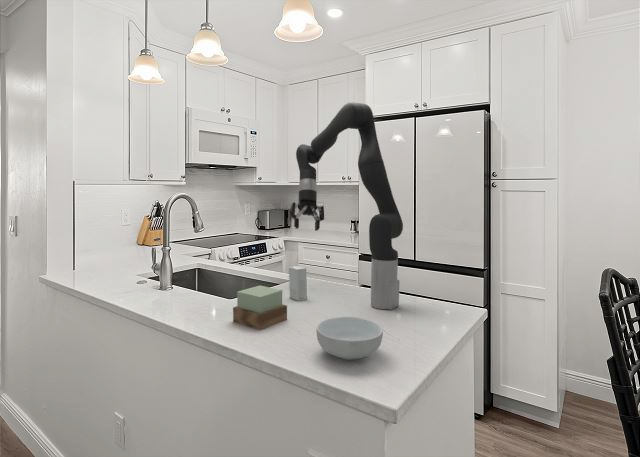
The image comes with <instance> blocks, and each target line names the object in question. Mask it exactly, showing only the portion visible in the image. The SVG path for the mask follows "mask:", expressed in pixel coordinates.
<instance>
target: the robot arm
mask: <svg viewBox="0 0 640 457" xmlns="http://www.w3.org/2000/svg"><path fill="white" fill-rule="evenodd" d="M348 129H351V130H357V131H358V134H359V136H360V137H359V138H360V141H361V147H360V151H359V155H358V161H357V167H358V171H359V175H360V180H361V182H362V184H363V186H364V187H365V189H366V190H367V192H368V194H369V195H370V196H371V197H372V199H373V200H374V201H375V204H376V206H377V210H378V214H375V215H373V216H372V218H371V219H370V222H369V227H368V238H369V239H368V240H369V243H368V244H369V251H370V253H371V267H370V268H371V269H370V270H371V272H370V273H371V274H370V306H371V307H373V308H375V309H380V310H390V311H391V310H393V309H395V308H397V307H398V306H400V280H399V279H398V267H399V266H398V265H399V252H398V250H396V249H394V248H393V242H392V240H393V239H396V238H399V237H400V236H401V235H402V233H403V229H404V224H403V219H402V216H401V214H400V211H399V208H398V206H397V204H396V202H395V199H394V195H393V192H392V188H391V185H390V181H389V179H388V174H387V170H386V166H385V162H384V159H383V156H382V152H381V148H380V144H379V140H378V136H377V130H376V129H377V128H376V124H375V117H374V114H373V110H372V108H371V106H369V105H368V104H366V103H362V102H361V103H360V102H353V101H352V102H347V103H345V104H344V105H342V107H340V109H339V111H338V112H337V113H336V115H335V116H334V117H333V118H332V120H330V123H328V125H327V126H326V127H325V129H323V130H322V131H321V132H320V133H319V134H317V135H316V136H315V137H314V138H313V139H312V140H311V142H310V145H308V144H305V143H303V144H300V145H298V147H297V149H296V150H295V157H296V161H297V166H298V171H299V184H298V202H297V203H296V202H292V203H291V204H290V210H289V217H290V218H292V219H293V224H294V225H293V226H294V228H295V229H296V230H297V229H299V228H300V219H299V218H300V217H301V216H302V215H303V216H308V217H309V216H311V217H312V218H313V219H314V221H315V222H314V231H315V232H317V231H319V230H320V225H321V222H322V221H324V220H325V206H324V205H321V206H319V205H317V199H318V197H317V194H318V192H317V191H318V190H317V188H318V187H317V185H318V184H317V169H316V167H314V166H312V165H314V164H318V163H319V162H320V161H321V159H322V157H323V155H324V154H325V153H326V152H327V151H328V150H329V149H331V148H332V147H333V146H334V145H335V144H336V142H337V140H338V136H339V134H340V133H342V132H343V131H345V130H348ZM296 209H298V212H297V213H296ZM317 211H318V212H317ZM318 213H319V214H318Z"/></svg>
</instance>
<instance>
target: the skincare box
mask: <svg viewBox="0 0 640 457" xmlns="http://www.w3.org/2000/svg"><path fill="white" fill-rule="evenodd" d="M307 279H308V278H307V268H306V267H303V266H299V265H294V266H289V267H288V282H289V285H288V288H289V298H290V299H293V300H294V301H297V302H302V301H306V300H307V299H308V288H307V287H308V283H307Z"/></svg>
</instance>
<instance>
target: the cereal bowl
mask: <svg viewBox="0 0 640 457" xmlns="http://www.w3.org/2000/svg"><path fill="white" fill-rule="evenodd" d="M383 334H384V330H383V328H382V326H381V325H380V324H378V323H377V322H374V321H373V320H371V319H366V318H362V317H357V316H356V317H355V316H337V317H331V318H328V319H324V320H322V321H320V322H319V323H318V324H317V326H316V338H317V339H316V340H317V341H318V344H319V346H320V347H321V348H322V349H323V350H324V351H325V352H326V353H328V354H330V355H332V356H334V357H336V358H339V359H341V360H347V361H351V360H353V361H354V359H355V360H359V359H361V358H362V359H363V358H365V357H368V356H370V355H372V354H374V353H375V352H377V350H379V348H380V347H381V344H382V341H383Z"/></svg>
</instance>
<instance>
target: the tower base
mask: <svg viewBox="0 0 640 457" xmlns="http://www.w3.org/2000/svg"><path fill="white" fill-rule="evenodd" d="M232 314H233V316H232V318H233V319H232V321H233V323H237V324H240V325H243V326H246V327H250V328H253V329H255V330H260V331H261V330H265V329H266V328H270V327H272V326H274V325H277V324H278V323H282V322H284V321H287V320H288V305H287V304H283V303H282V306H279V307H277V308H274V309H271V310H268V311H265V312H263V313H257V312H254V311H250V310H246V309H242V308H239V307H237V305H236V306H233V307H232Z"/></svg>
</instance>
